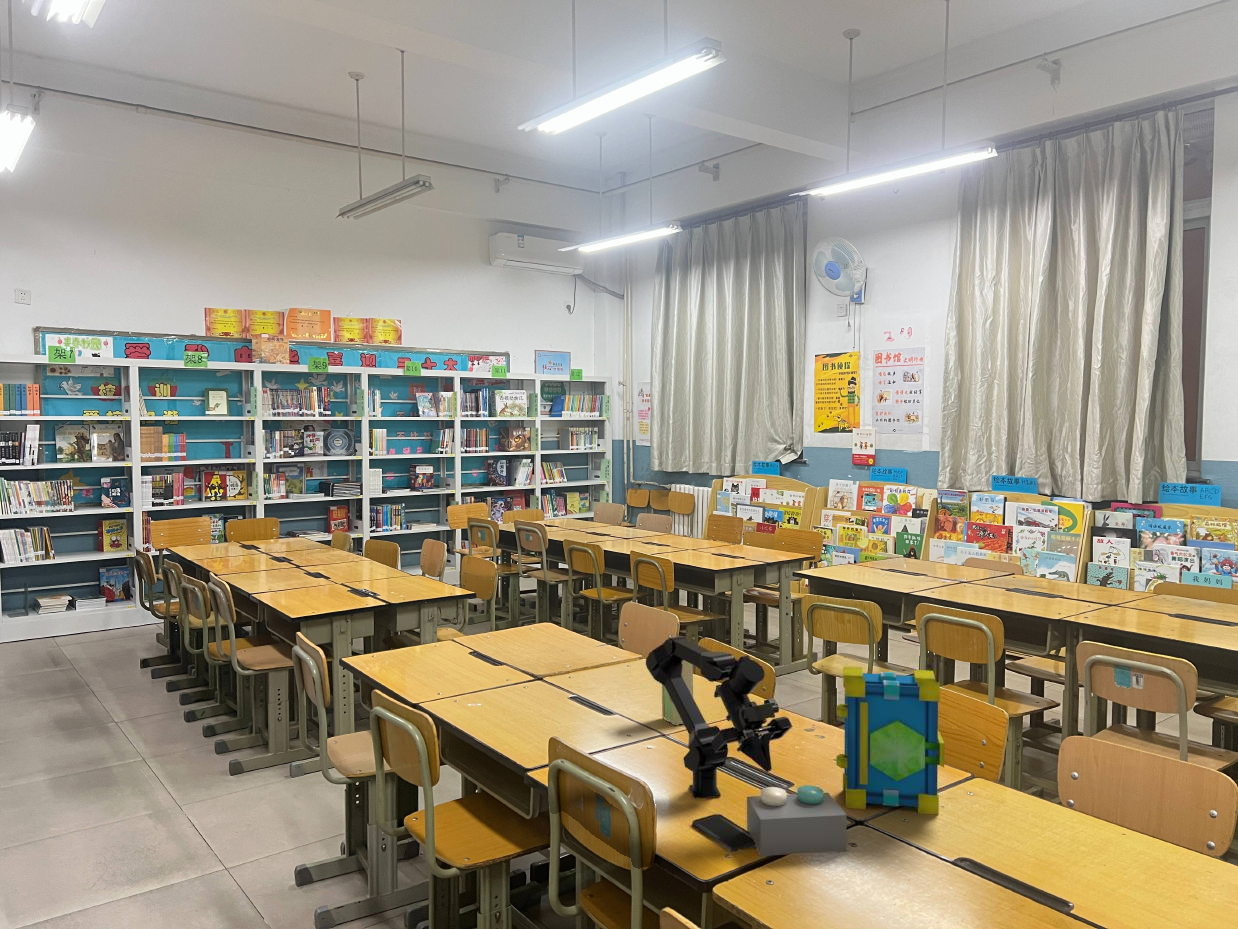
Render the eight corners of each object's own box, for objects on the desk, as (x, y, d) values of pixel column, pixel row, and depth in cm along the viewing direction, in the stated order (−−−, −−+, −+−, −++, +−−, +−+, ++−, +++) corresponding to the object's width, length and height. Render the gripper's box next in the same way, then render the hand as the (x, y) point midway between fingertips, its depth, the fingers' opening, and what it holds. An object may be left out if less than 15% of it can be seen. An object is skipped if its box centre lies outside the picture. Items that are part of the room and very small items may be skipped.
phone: (718, 813, 193) (762, 840, 180) (718, 818, 193) (762, 845, 180) (689, 821, 189) (732, 849, 176) (689, 826, 189) (732, 855, 176)
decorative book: (945, 819, 191) (946, 685, 189) (837, 811, 195) (838, 680, 194) (934, 793, 205) (935, 668, 203) (834, 785, 209) (835, 663, 208)
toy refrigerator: (659, 718, 258) (658, 649, 258) (680, 715, 262) (680, 646, 261) (671, 726, 251) (671, 655, 250) (693, 723, 254) (693, 652, 254)
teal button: (793, 807, 186) (793, 786, 186) (818, 806, 187) (818, 784, 187) (801, 819, 181) (801, 796, 181) (826, 817, 181) (826, 795, 181)
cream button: (757, 809, 185) (757, 787, 185) (782, 808, 186) (782, 786, 186) (764, 821, 180) (764, 798, 180) (789, 819, 181) (789, 797, 180)
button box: (746, 831, 186) (746, 796, 185) (827, 826, 188) (828, 792, 187) (760, 856, 175) (760, 819, 174) (846, 851, 177) (846, 815, 176)
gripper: (720, 693, 183) (752, 761, 174) (787, 680, 193) (821, 745, 183) (698, 718, 190) (727, 786, 181) (764, 705, 200) (795, 769, 191)
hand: (769, 770), depth 184 cm, fingers closed
